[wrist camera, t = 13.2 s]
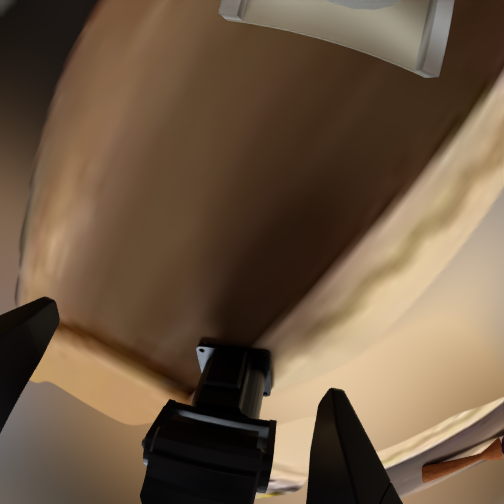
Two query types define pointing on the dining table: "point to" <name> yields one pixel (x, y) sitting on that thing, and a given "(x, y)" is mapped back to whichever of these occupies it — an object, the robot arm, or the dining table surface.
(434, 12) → the rail dock
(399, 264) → the dining table surface
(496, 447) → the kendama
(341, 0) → the can
